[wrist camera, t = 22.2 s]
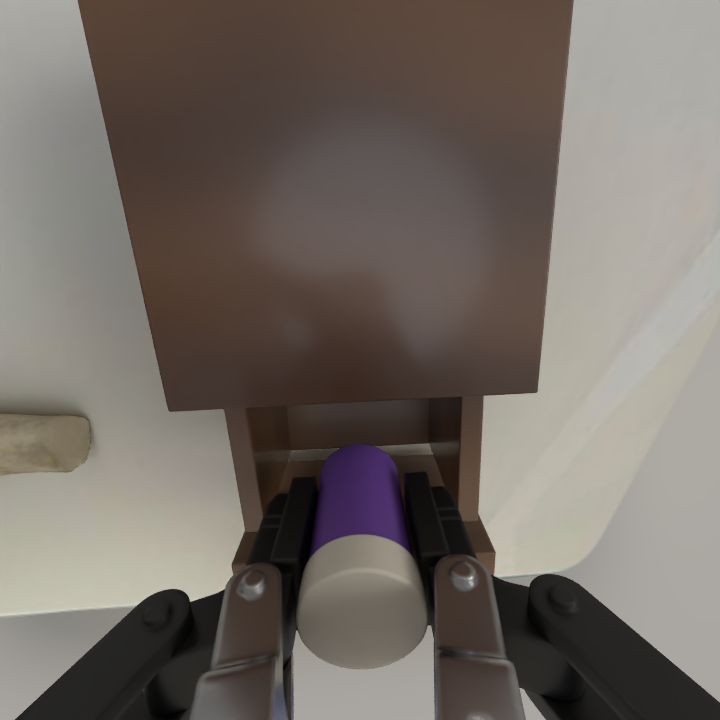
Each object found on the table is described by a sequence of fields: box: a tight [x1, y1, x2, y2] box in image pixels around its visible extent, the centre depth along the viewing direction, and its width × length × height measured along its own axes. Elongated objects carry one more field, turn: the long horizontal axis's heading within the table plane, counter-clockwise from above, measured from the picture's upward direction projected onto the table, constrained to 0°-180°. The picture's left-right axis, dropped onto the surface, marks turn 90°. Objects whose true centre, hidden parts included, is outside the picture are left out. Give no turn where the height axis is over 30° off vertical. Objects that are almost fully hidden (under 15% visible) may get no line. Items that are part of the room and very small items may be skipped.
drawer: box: [224, 396, 496, 575], centre depth 17 cm, size 18×10×7 cm, turn 3°
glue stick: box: [296, 444, 429, 669], centre depth 11 cm, size 3×3×6 cm
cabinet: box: [78, 0, 573, 412], centre depth 14 cm, size 14×12×9 cm
